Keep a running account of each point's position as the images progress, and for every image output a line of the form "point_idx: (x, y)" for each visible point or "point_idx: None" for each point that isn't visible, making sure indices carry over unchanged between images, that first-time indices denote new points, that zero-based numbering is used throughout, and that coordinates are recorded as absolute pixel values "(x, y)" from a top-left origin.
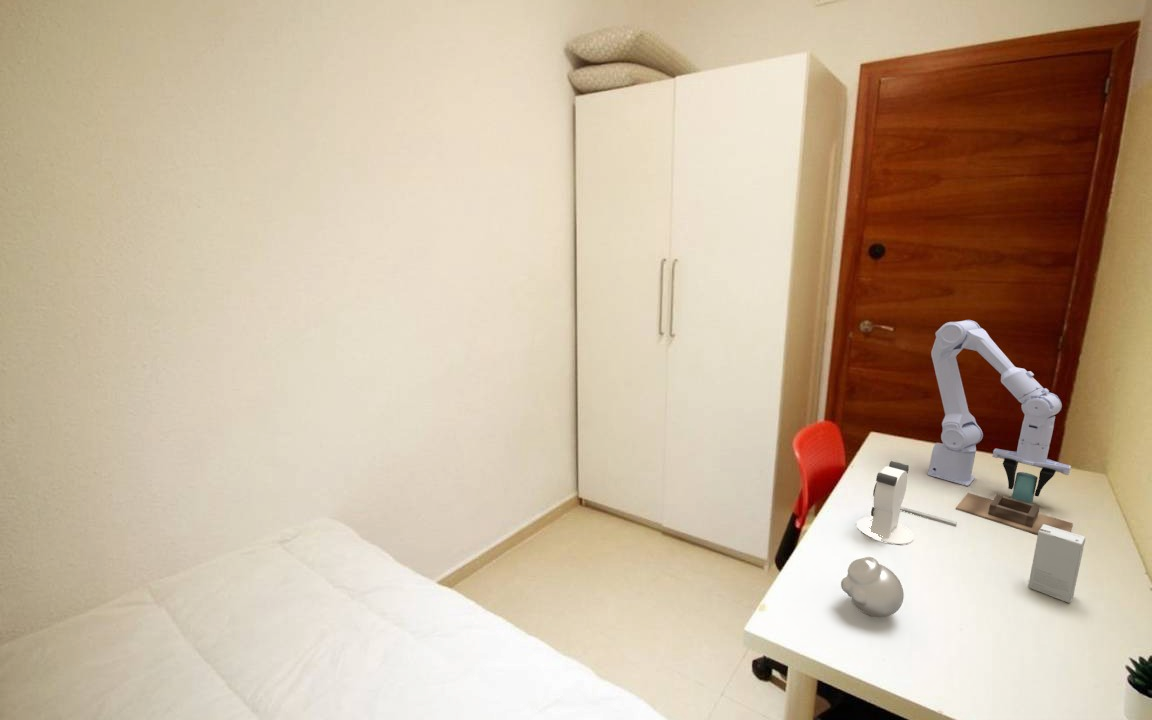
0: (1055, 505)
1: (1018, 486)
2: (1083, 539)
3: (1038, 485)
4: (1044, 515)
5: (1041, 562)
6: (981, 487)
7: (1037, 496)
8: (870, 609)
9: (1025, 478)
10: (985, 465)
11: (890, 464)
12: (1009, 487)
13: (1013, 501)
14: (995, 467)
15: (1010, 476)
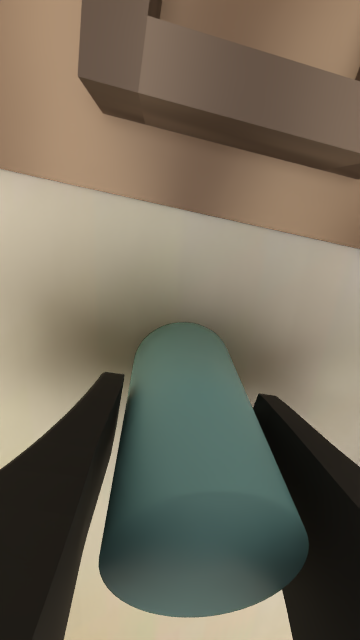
0: (30, 413)
1: (242, 401)
2: None
3: (91, 436)
4: (61, 168)
5: None
6: (349, 420)
7: (105, 373)
8: None
9: (230, 483)
10: (272, 622)
11: None
12: (279, 400)
13: (311, 69)
14: (241, 624)
15: (353, 479)
